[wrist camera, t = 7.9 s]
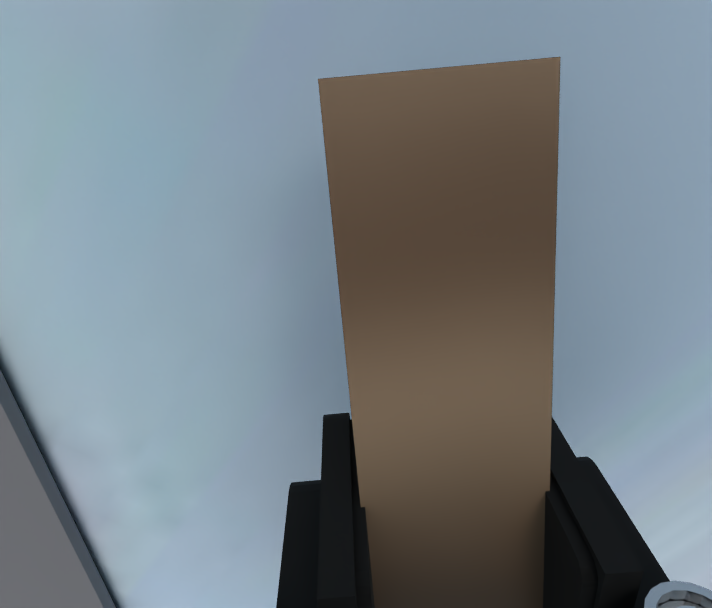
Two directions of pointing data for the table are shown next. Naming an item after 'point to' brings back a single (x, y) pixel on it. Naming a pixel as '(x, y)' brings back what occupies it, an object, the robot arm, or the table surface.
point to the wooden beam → (448, 321)
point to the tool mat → (38, 528)
